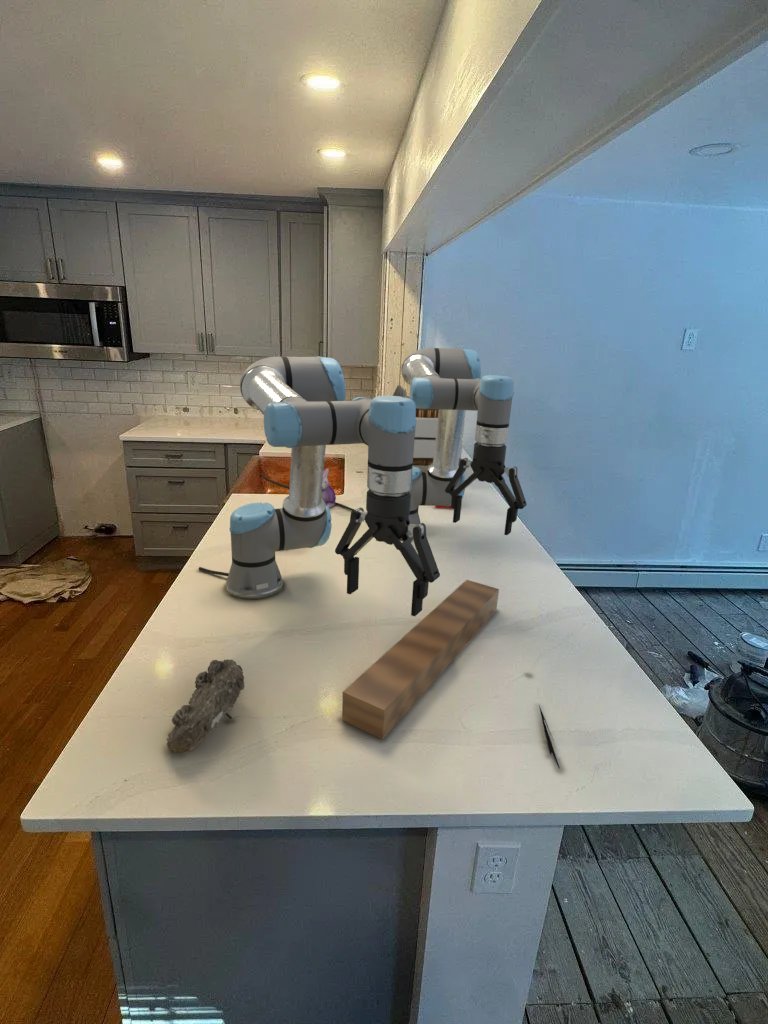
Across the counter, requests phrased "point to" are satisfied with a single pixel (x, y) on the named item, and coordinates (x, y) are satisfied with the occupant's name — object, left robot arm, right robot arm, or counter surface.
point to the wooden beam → (417, 660)
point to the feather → (548, 737)
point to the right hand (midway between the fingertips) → (481, 527)
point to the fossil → (206, 705)
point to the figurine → (327, 491)
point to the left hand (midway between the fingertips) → (383, 601)
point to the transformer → (424, 433)
